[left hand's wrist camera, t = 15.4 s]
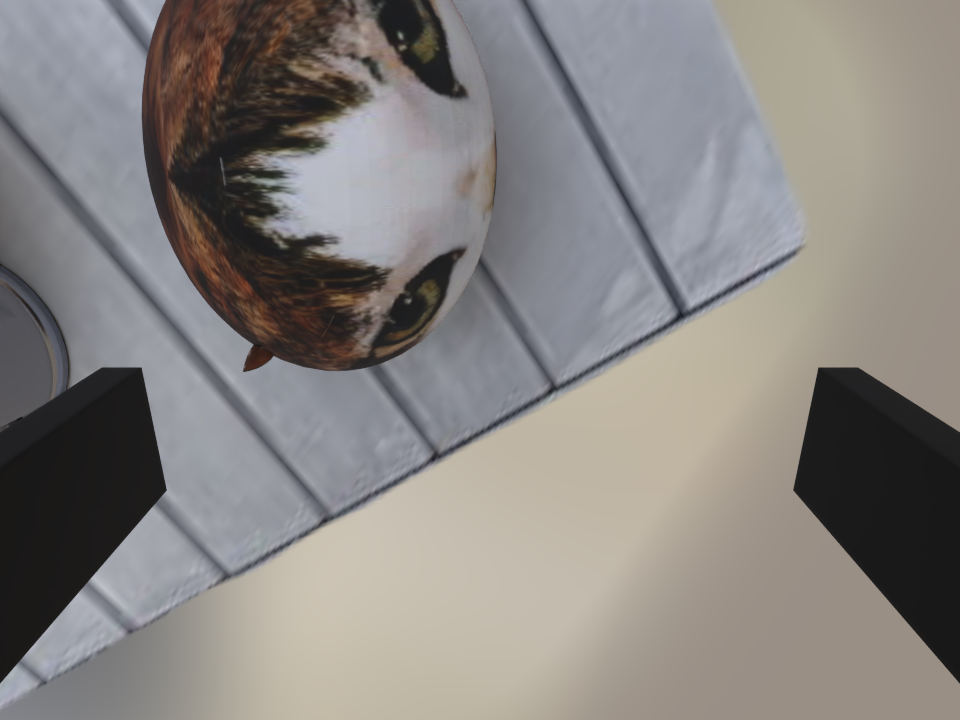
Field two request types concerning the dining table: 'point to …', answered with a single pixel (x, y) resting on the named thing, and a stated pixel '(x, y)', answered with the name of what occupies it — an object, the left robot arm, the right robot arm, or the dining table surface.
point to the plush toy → (321, 168)
